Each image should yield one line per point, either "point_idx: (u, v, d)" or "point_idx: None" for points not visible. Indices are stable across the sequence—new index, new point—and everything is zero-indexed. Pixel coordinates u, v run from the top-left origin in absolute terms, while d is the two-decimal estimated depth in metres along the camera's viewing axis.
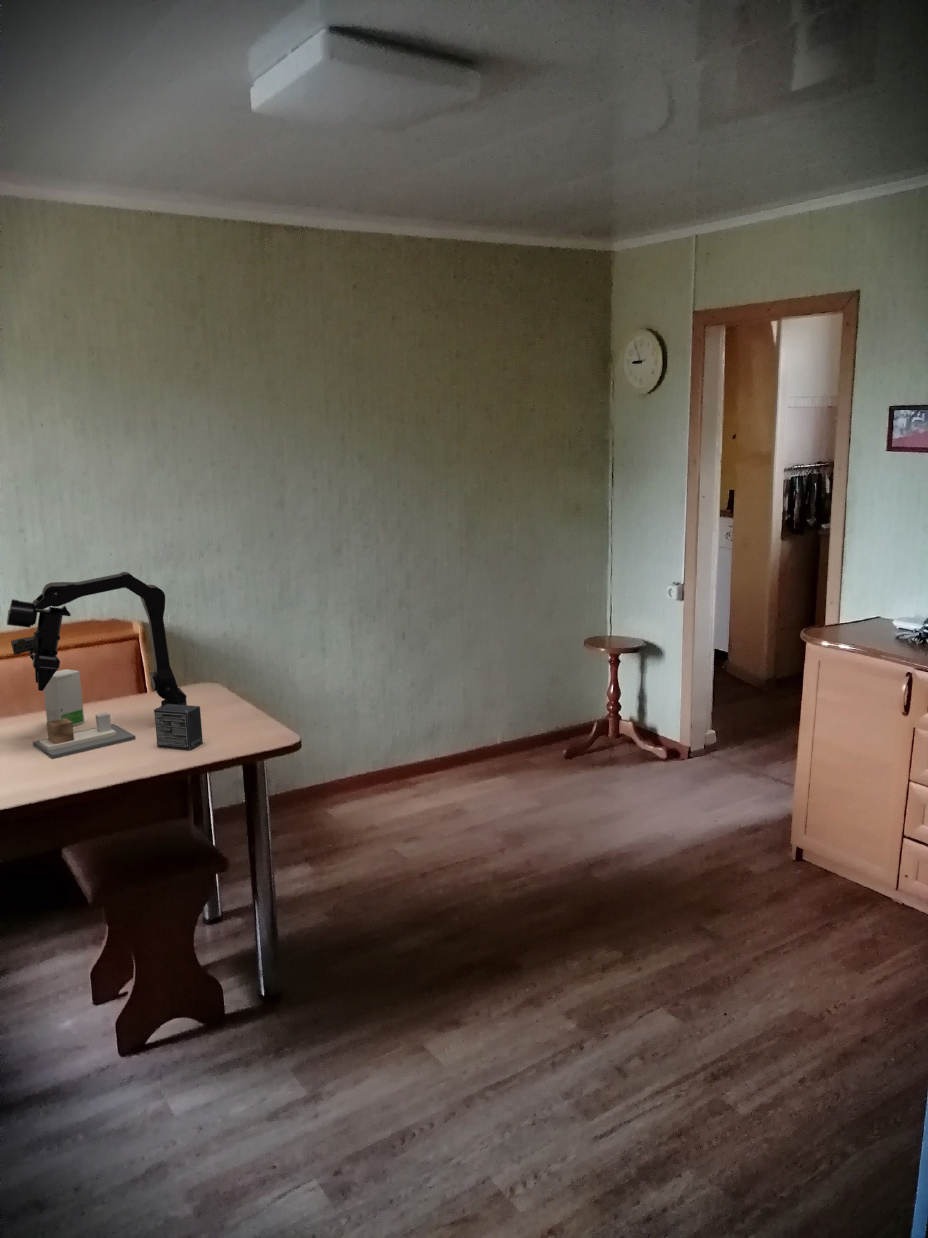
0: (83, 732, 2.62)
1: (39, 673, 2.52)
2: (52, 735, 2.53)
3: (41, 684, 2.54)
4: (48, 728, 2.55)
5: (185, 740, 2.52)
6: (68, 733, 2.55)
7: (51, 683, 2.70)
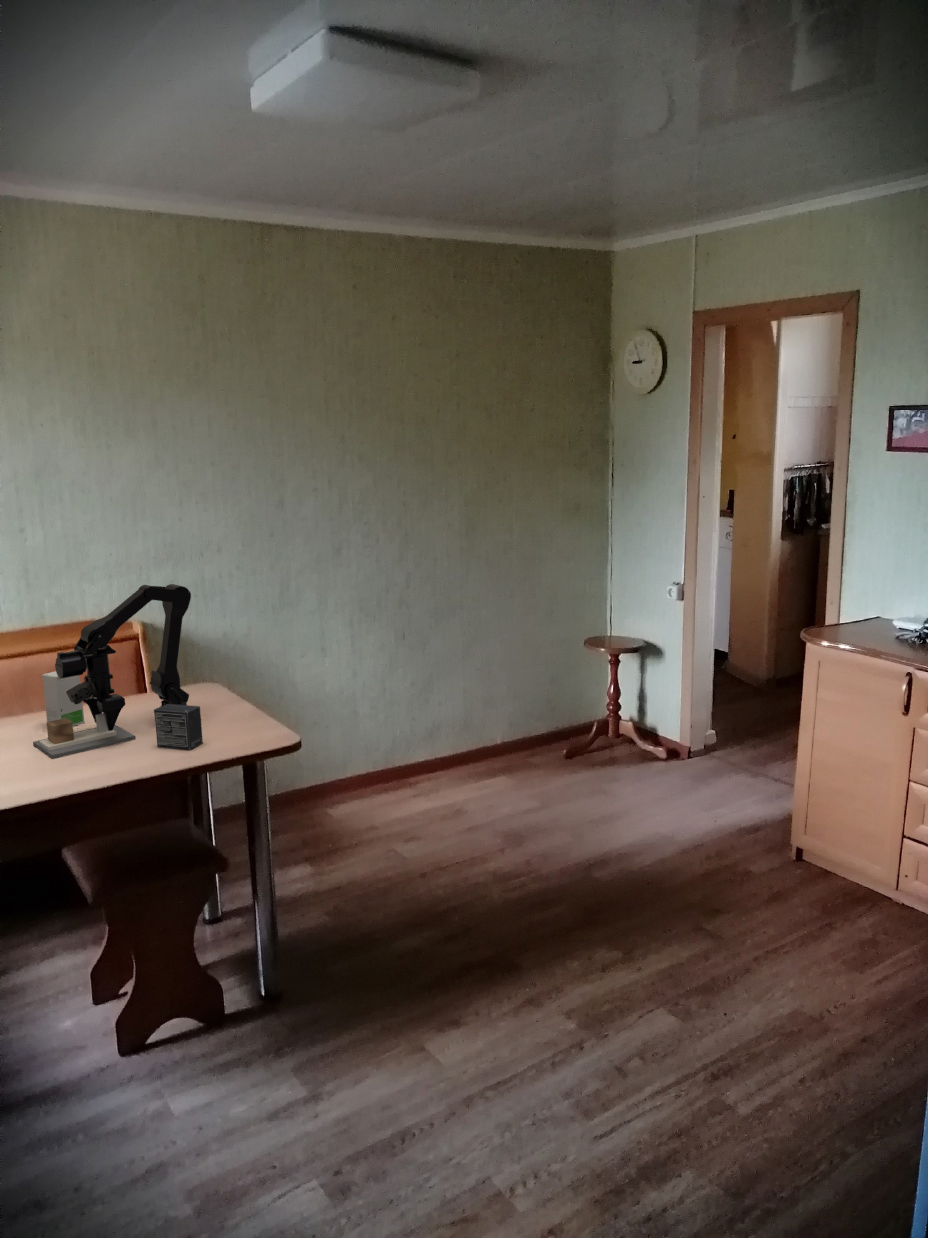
0: (83, 732, 2.62)
1: (107, 715, 2.57)
2: (52, 735, 2.53)
3: (110, 724, 2.59)
4: (48, 728, 2.55)
5: (185, 740, 2.52)
6: (68, 733, 2.55)
7: (51, 683, 2.70)
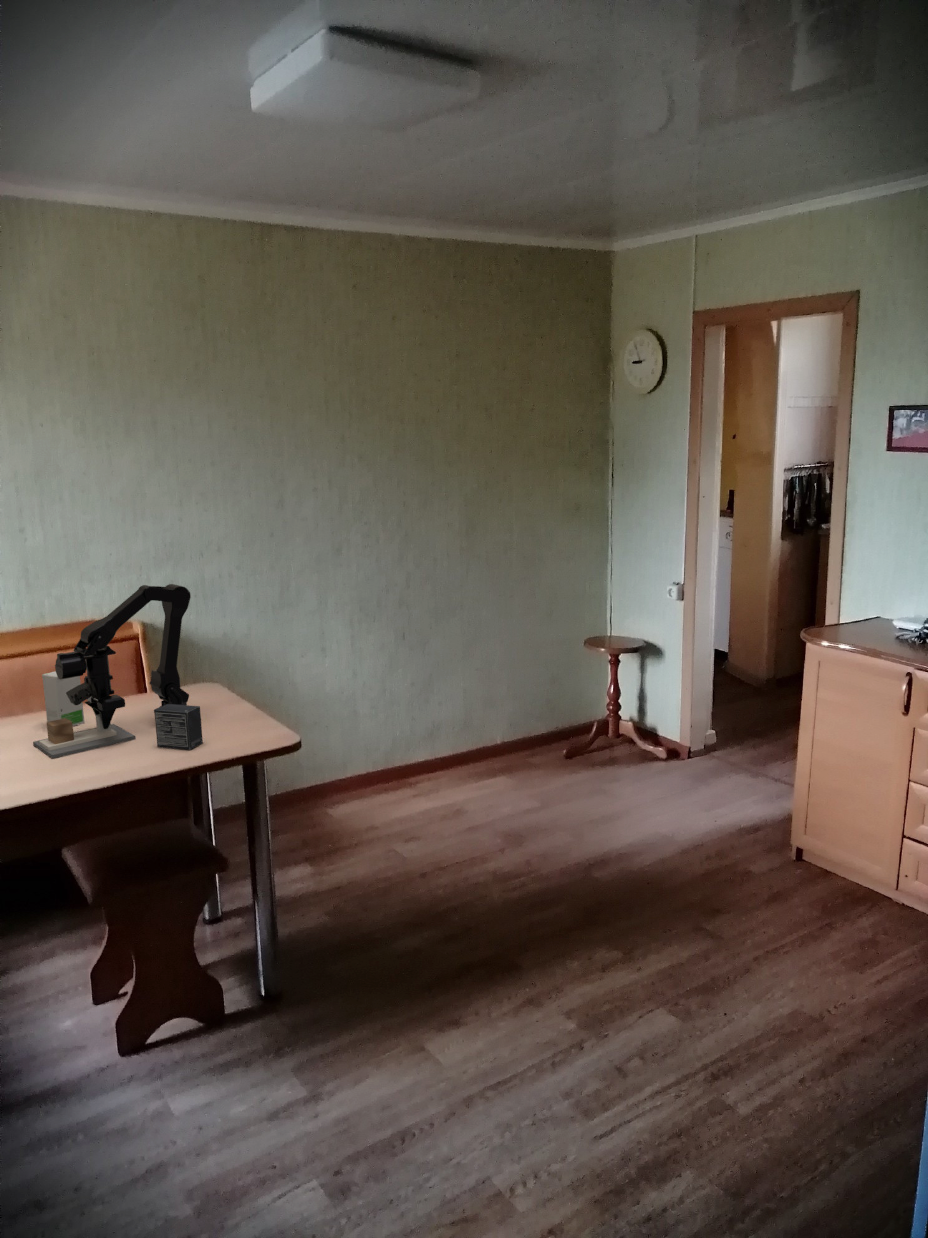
0: (83, 732, 2.62)
1: (102, 713, 2.59)
2: (52, 735, 2.53)
3: (106, 723, 2.61)
4: (48, 728, 2.55)
5: (185, 740, 2.52)
6: (68, 733, 2.55)
7: (51, 682, 2.70)
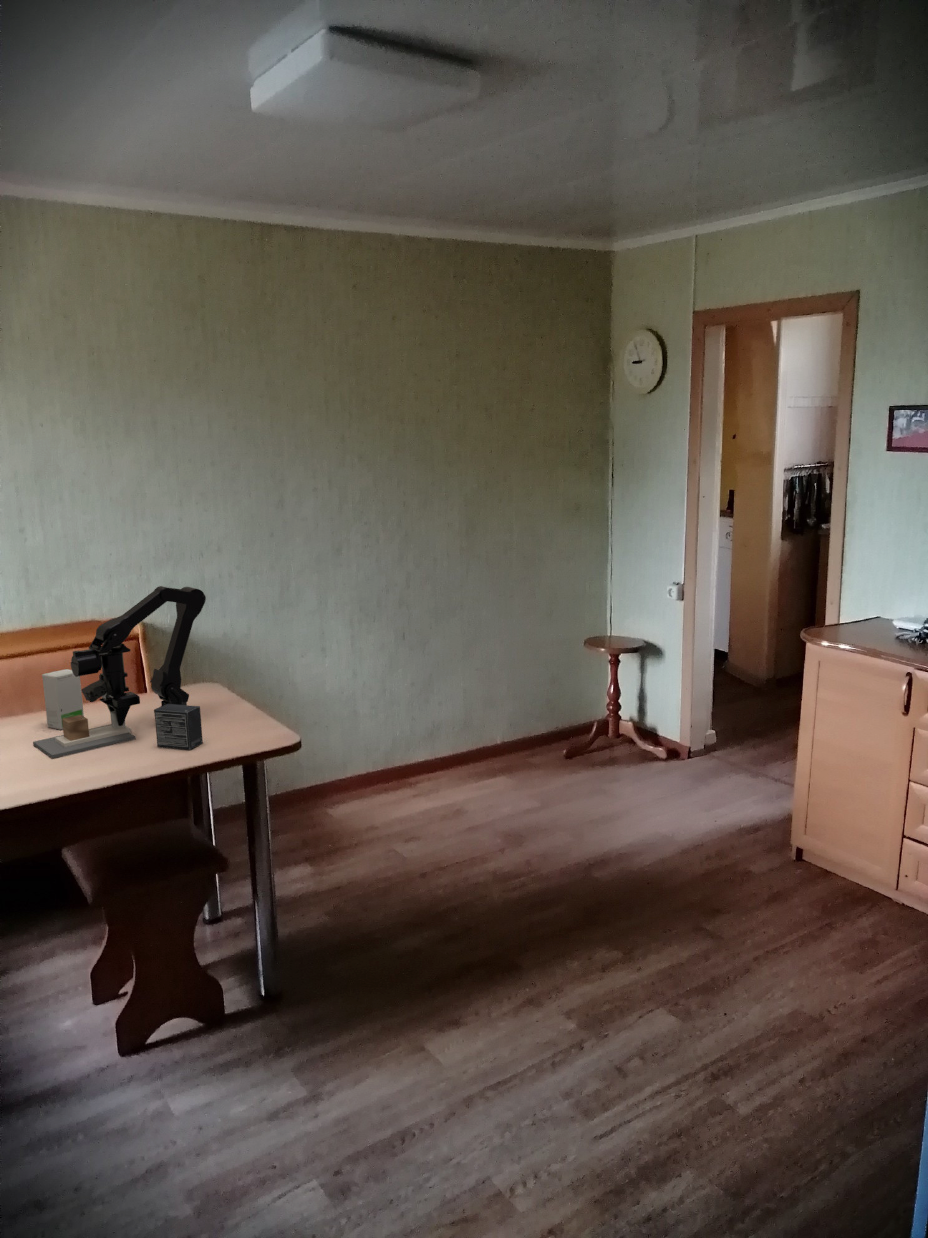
0: (98, 729, 2.65)
1: (117, 710, 2.62)
2: (68, 732, 2.56)
3: (120, 719, 2.64)
4: (64, 725, 2.57)
5: (185, 740, 2.52)
6: (83, 730, 2.57)
7: (51, 682, 2.70)
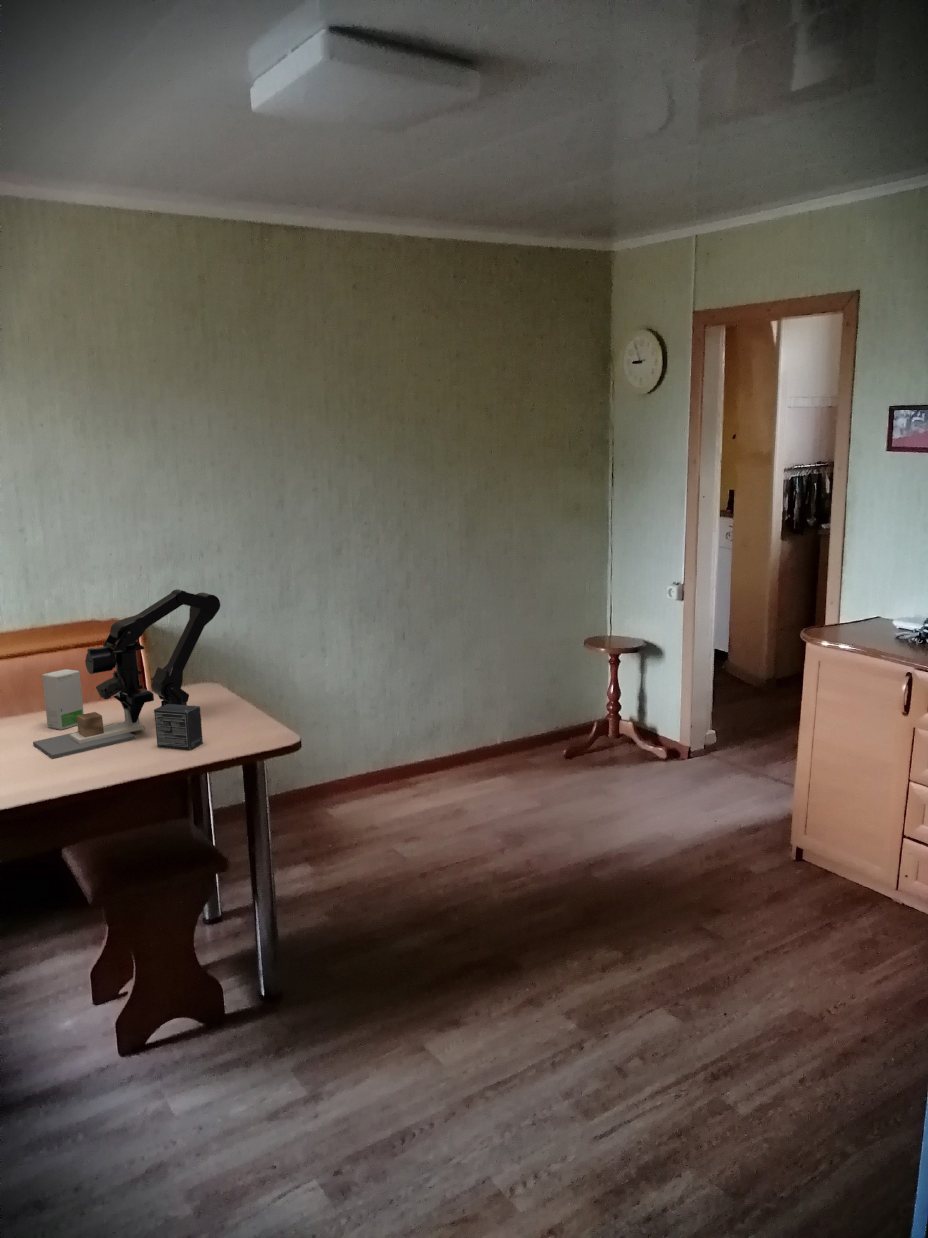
0: (112, 726, 2.67)
1: (131, 707, 2.65)
2: (83, 728, 2.58)
3: (134, 716, 2.67)
4: (78, 721, 2.60)
5: (185, 740, 2.52)
6: (98, 727, 2.60)
7: (51, 682, 2.70)
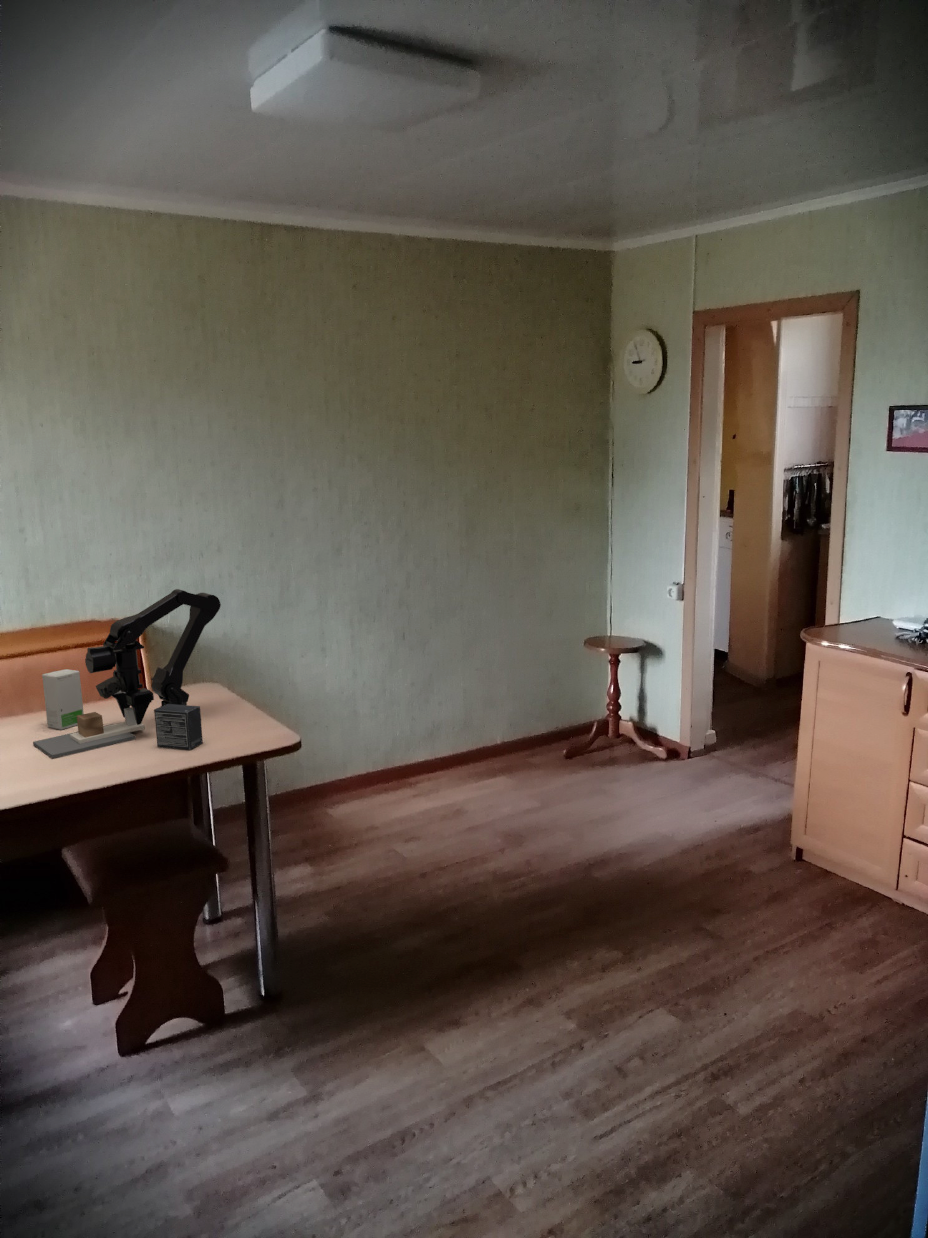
0: (112, 726, 2.67)
1: (136, 709, 2.62)
2: (83, 728, 2.58)
3: (139, 718, 2.64)
4: (78, 721, 2.60)
5: (185, 740, 2.52)
6: (98, 727, 2.60)
7: (51, 683, 2.70)
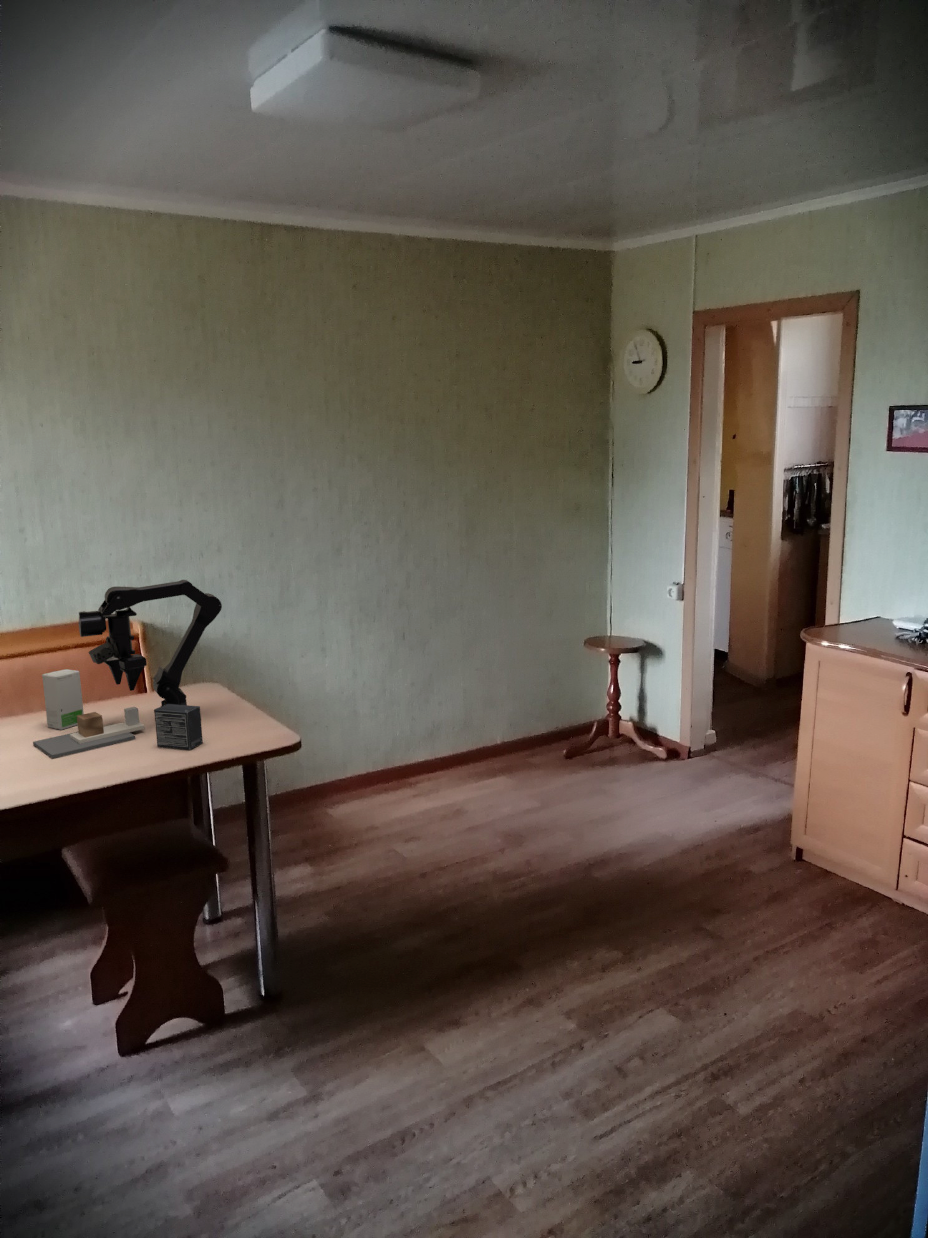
0: (112, 726, 2.67)
1: (128, 674, 2.63)
2: (83, 728, 2.58)
3: (132, 684, 2.65)
4: (78, 721, 2.60)
5: (185, 740, 2.52)
6: (98, 727, 2.60)
7: (51, 683, 2.70)
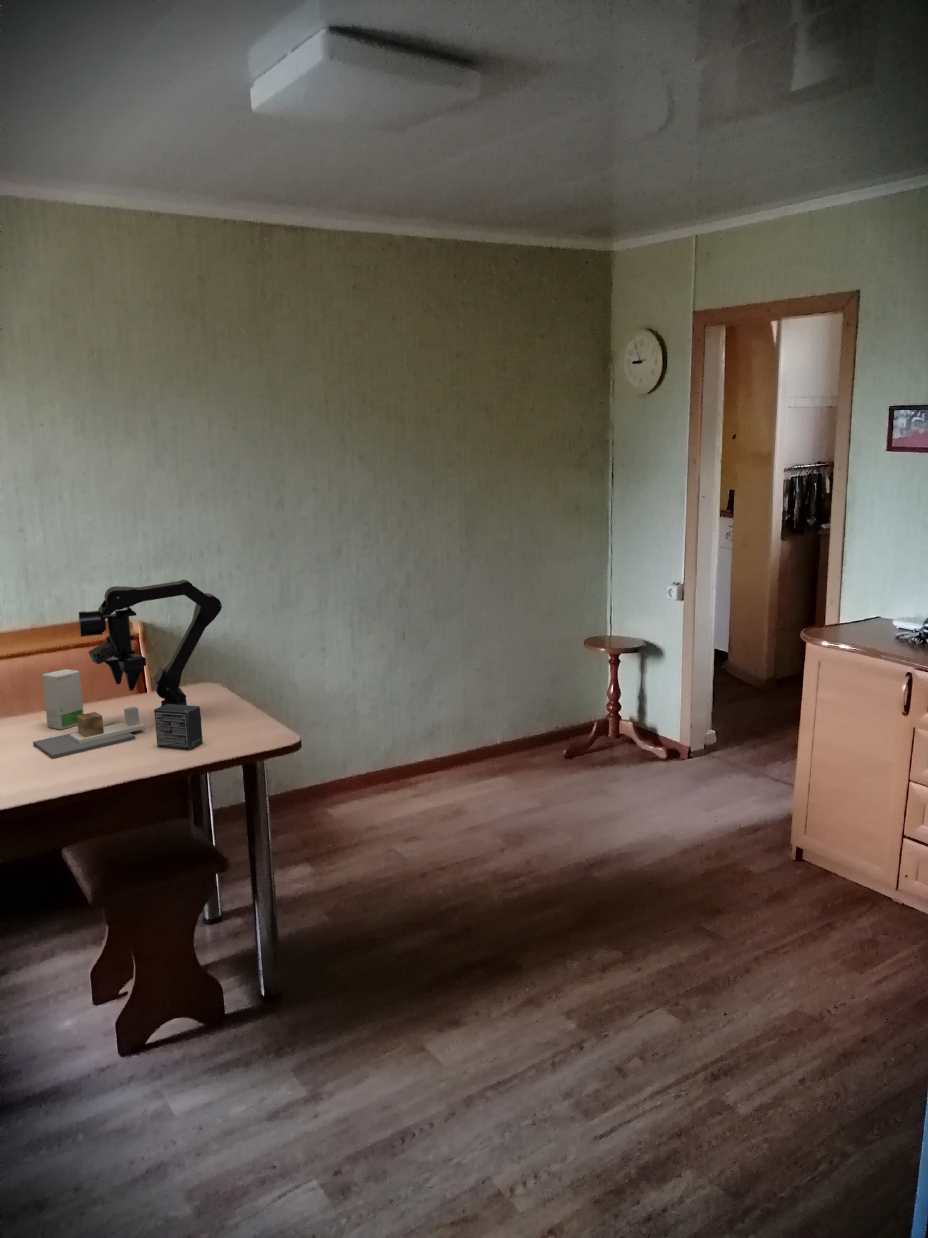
0: (112, 726, 2.67)
1: (128, 674, 2.63)
2: (83, 728, 2.58)
3: (131, 684, 2.65)
4: (78, 721, 2.60)
5: (185, 740, 2.52)
6: (98, 727, 2.60)
7: (51, 683, 2.70)
